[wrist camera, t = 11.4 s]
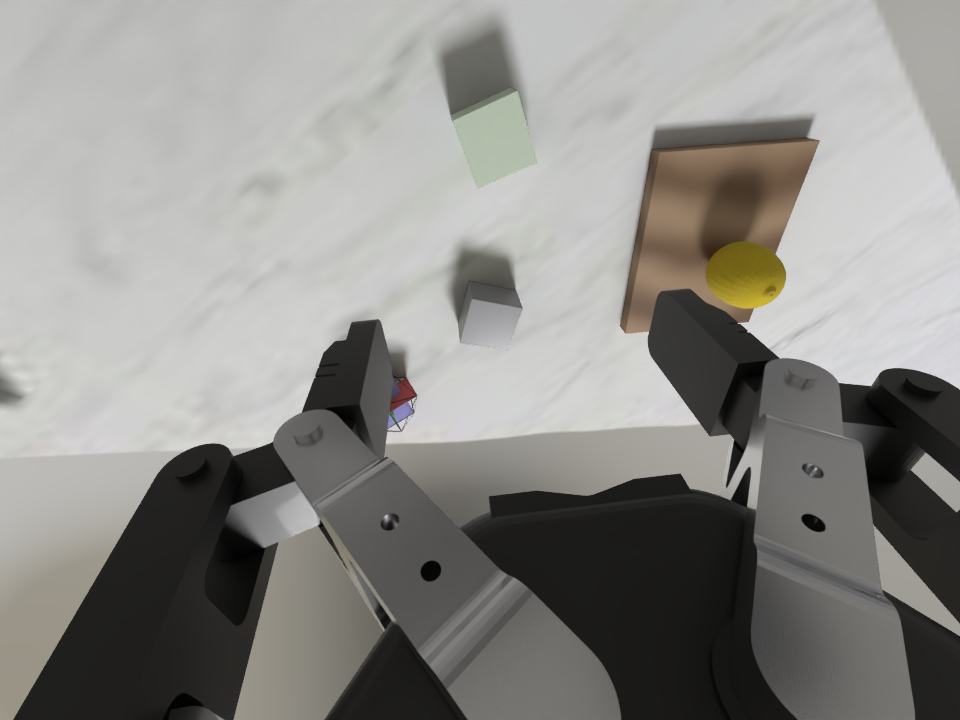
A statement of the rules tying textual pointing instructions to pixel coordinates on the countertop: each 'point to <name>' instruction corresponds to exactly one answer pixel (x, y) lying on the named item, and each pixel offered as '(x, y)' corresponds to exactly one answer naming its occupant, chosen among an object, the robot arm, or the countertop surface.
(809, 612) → the robot arm
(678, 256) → the walnut board
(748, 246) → the lemon
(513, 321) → the gray block
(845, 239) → the countertop surface
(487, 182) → the sage block
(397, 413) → the geometric puzzle
